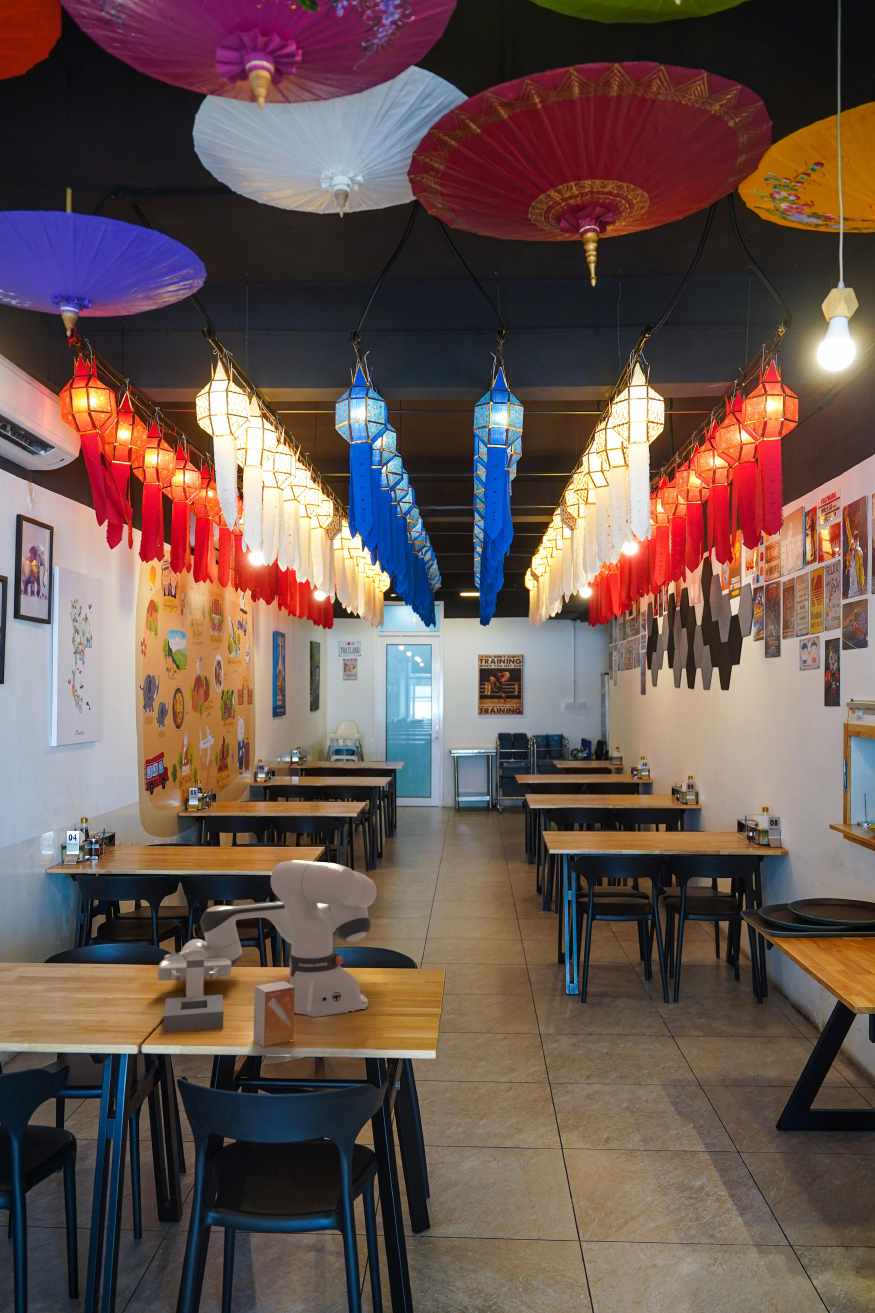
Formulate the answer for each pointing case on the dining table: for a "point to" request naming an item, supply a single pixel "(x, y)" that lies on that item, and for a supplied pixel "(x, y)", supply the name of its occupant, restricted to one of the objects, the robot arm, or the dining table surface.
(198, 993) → the plug
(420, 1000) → the dining table surface
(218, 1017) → the socket block
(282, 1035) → the small box
